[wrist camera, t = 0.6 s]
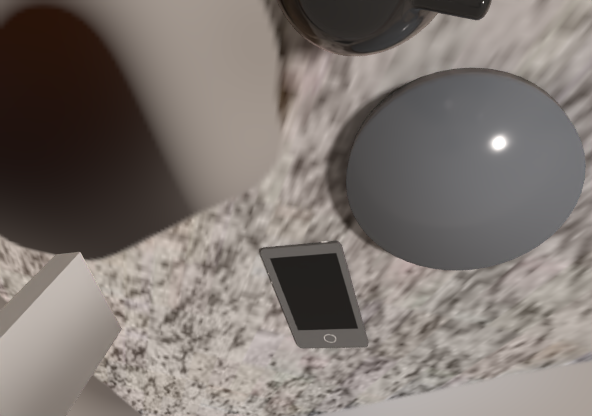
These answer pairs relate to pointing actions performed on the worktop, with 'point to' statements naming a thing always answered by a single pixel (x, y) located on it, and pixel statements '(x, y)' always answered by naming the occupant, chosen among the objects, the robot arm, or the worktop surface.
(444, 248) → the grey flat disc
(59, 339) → the robot arm
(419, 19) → the pump dispenser
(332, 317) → the smartphone
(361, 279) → the worktop surface
